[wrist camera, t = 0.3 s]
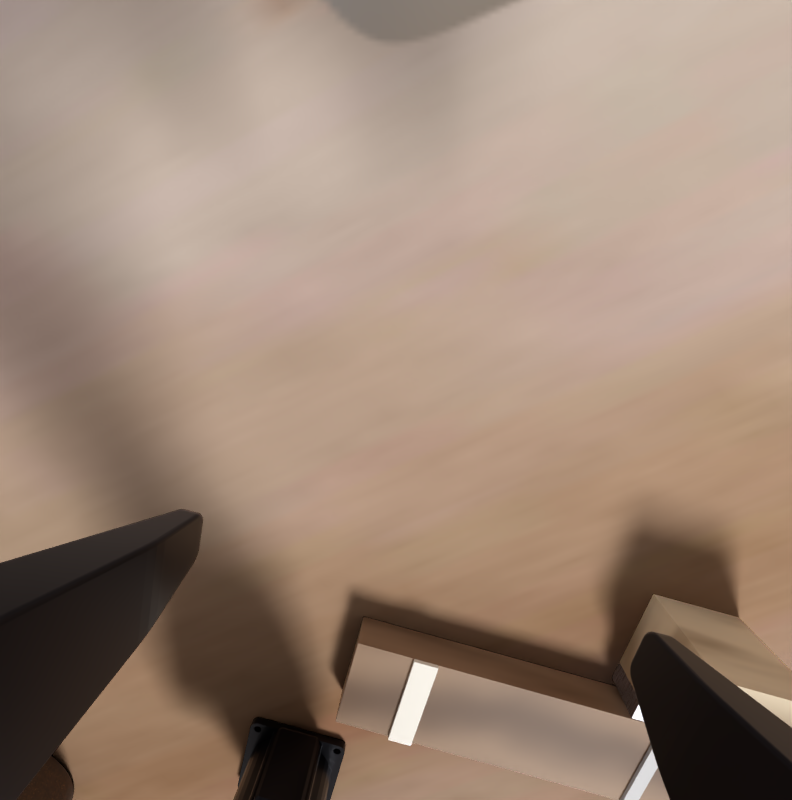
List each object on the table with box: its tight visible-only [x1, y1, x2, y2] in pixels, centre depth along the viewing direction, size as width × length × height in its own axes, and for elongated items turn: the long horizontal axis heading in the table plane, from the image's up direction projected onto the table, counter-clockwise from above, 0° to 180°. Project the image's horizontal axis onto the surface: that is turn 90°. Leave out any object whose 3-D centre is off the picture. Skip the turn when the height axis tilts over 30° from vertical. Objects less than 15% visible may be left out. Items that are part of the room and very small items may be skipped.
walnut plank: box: [336, 617, 670, 800], centre depth 25 cm, size 6×28×2 cm, turn 75°
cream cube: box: [612, 594, 792, 727], centre depth 21 cm, size 6×5×6 cm
